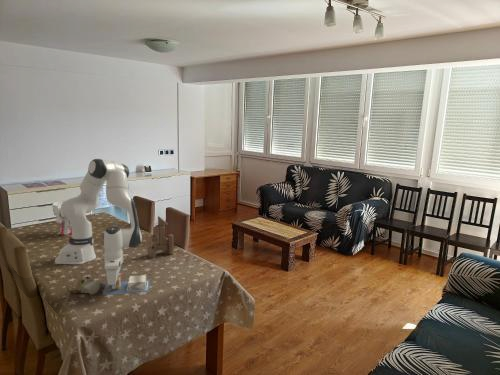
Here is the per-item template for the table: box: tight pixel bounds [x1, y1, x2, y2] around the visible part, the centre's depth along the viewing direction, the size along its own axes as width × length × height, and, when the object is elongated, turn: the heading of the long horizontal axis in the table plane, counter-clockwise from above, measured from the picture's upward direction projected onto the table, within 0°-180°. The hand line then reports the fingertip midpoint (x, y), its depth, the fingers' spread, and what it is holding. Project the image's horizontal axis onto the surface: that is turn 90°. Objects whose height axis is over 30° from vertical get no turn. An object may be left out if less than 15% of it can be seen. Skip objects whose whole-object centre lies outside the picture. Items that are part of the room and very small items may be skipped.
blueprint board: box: [101, 279, 151, 296], centre depth 182 cm, size 22×14×1 cm, turn 103°
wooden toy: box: [146, 215, 174, 259], centre depth 227 cm, size 16×7×25 cm, turn 122°
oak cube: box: [109, 275, 122, 290], centre depth 180 cm, size 5×5×5 cm
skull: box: [52, 199, 72, 237], centre depth 259 cm, size 25×19×23 cm
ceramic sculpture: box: [67, 276, 101, 295], centre depth 176 cm, size 11×9×15 cm
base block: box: [128, 274, 147, 290], centre depth 183 cm, size 8×8×4 cm
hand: (114, 285), depth 180 cm, fingers closed on oak cube, 5 cm apart
